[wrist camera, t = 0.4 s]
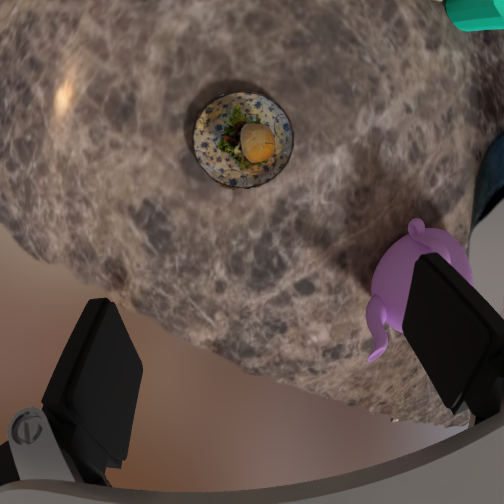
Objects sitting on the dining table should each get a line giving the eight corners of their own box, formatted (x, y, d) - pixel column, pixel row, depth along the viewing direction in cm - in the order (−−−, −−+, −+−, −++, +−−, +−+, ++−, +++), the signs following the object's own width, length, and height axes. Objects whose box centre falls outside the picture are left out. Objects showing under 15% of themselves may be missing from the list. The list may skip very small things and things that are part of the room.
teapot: (320, 242, 43) (354, 303, 31) (446, 191, 40) (505, 229, 28) (350, 343, 53) (375, 403, 41) (450, 296, 50) (489, 343, 38)
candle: (463, 38, 29) (521, 36, 18) (439, 6, 27) (495, -5, 16) (478, 20, 27) (533, 16, 16) (455, -11, 25) (508, -22, 14)
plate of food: (202, 83, 32) (196, 79, 25) (301, 101, 34) (318, 103, 27) (187, 179, 37) (178, 198, 31) (280, 193, 39) (291, 215, 33)
